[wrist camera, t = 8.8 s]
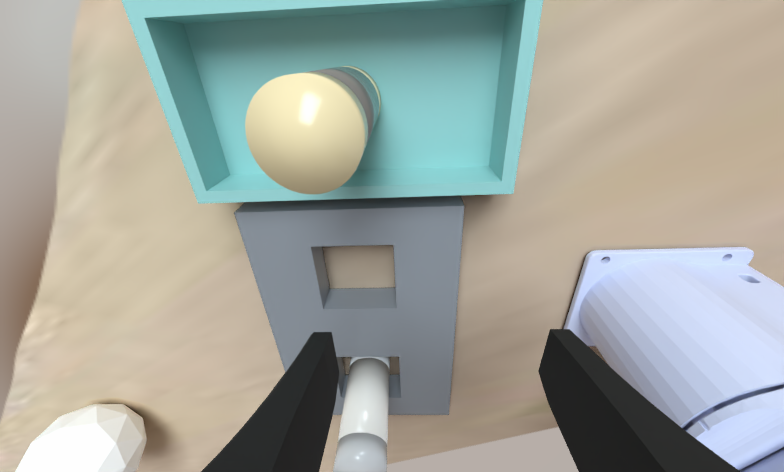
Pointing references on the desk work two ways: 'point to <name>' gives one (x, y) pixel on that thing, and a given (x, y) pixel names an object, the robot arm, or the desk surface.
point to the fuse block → (364, 305)
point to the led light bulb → (313, 127)
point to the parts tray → (348, 48)
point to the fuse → (364, 417)
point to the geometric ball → (89, 442)
